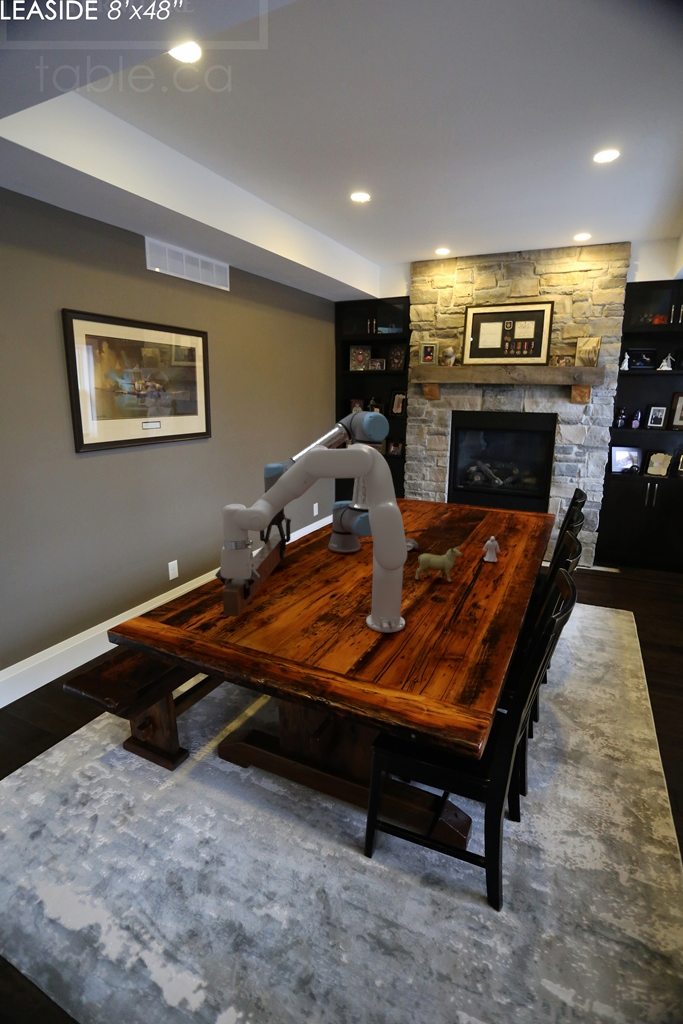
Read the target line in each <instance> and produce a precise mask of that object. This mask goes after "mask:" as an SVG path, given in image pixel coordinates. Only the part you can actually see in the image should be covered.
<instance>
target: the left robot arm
mask: <svg viewBox="0 0 683 1024" xmlns="http://www.w3.org/2000/svg"><path fill="white" fill-rule="evenodd" d="M389 431H390V424H389V422H388V419H387V418H386V416H384V415H383V414H382V413H379V412H376V411H364V410H359V411H354V412H352V413H350V414H348V415H347V416H346V417H344V418H342V419H341V420H339V421H338V422H336V423H335V424H334V427H333V428H331V429H330V430H329V431H328V432H326V433H325V434H323V435H321V436H320V437H319V438H317V439H316V440H315V441H313V442H311V443H310V444H309V445H307V446H305V447H304V448H303V449H301V450H300V451H298V452H297V453H295V454H294V455H292V456H291V457H290V458H288V459H287V460H284V461H278V462H277V463H268V464H265V466H264V468H263V483H264V484H263V485H264V494H265V493H266V492H267V491H268V490H269V489H270V488H271V487H272V486H273V485H274V484H275V483H276V482H277V481H278V479H279V478H280V477H281V476H282V475H283V474H284V473H285V472H286V471H287V470H288V469H289V468H290V467H291V466H292V465H293V464H295V463H296V462H297V461H298V460H299V459H300V458H301V457H302V456H303V455H304V454H305V453H306V452H307V451H308V450H309V449H310V448H312V447H313V446H316V445H322V446H324V447H326V448H328V449H337V447H339V446H340V445H342V444H343V443H349V442H350V441H352V440H354V444H364V445H367V446H370V447H372V448H374V449H375V450H377V451H378V452H379V449H380V448H381V447H382V446H383V440H385V439H386V437H387V436H388V435H389ZM353 484H354V485H353V494H352V500H340V501H336V502H333V504H332V523H331V524H332V526H331V527H332V528H331V529H332V531H331V532H332V533H331V536H330V538H329V542H328V546H327V548H328V549H327V550H328V551H330V552H332V553H335V554H339V555H340V554H341V555H350V554H355V553H358V552H360V551H361V546H362V545H361V544H370V543H373V540H368V541H359V538H364V539H365V538H368V537H371V536H372V533H371V527H370V522H369V506H368V499H367V493H366V488H365V483H364V478H363V476H362V477H358V478H354V483H353ZM283 522H284V523H285V530H284V527H283ZM291 523H292V517H288V516H286V514H285V507H284V508H283V509H282V510H281V511H280V512H279V513H278V514H277V515H276V516H275V517H274V518H273V519H272V520H271V522H270V524H269V525H268V527H267V528H266V533H265V529H264V530H262V531H259V541H260V542H264V545H265V544H266V543H267V542H268V541H269V540H270V538H271V533H272V528H273V527H272V526H276V527H277V530H278V534H280V537H281V541H282V542H281V543H280V558H281V560H282V559H284V557H285V555H284V551H285V550H287V543H289V542H290V541H291ZM284 531H285V532H284ZM421 531H426V528H420V529H415V530H409V531H404V532H405V534H410V533H416V532H421Z"/></svg>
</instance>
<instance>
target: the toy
mask: <svg viewBox="0 0 683 1024" xmlns="http://www.w3.org/2000/svg"><path fill="white" fill-rule="evenodd" d="M460 548H461V546H460V545H459V546H456V547H453V548H449V549H448V550H447V551H446V553H445V554H442V555H437V554H432V553H422V554H420V555H419V556H418V558H417V561H418V564H419V567H418V568H417V569H416V573H415V576H414V579H415V580H416V581H420V578H419V575H420V573H421V572H423V573H425V575H426V576H427V577H428V578H429V577H430V572H429V571H428V570H427V569H429V570H432V571H440V572H439V574H438V578H439V579H443V574H445V576H446V581H447V583H449V584H451V583H453V581H452V579H451V577H450V571H451V570H452V568H454V565H455V562H456V557H458V558H461V557H462V556H463V553H462V552H461V551H459V549H460Z"/></svg>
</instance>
